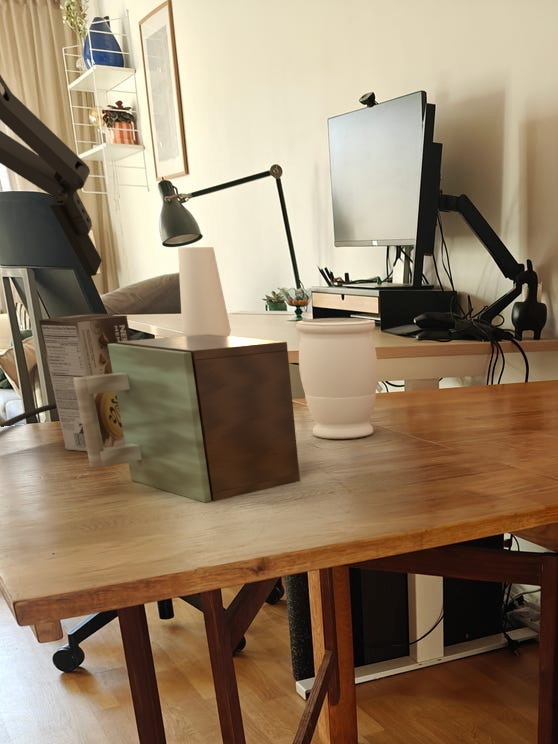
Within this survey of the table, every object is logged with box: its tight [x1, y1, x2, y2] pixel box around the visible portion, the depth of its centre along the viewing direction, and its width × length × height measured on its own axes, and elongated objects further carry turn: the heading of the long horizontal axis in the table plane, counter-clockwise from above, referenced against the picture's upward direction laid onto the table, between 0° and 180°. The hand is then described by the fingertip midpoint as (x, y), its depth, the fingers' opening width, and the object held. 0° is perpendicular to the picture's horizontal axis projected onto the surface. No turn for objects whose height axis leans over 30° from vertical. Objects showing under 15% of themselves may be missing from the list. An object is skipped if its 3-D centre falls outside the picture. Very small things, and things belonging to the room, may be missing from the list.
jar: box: [295, 317, 379, 440], centre depth 118 cm, size 11×10×15 cm
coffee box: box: [38, 313, 132, 452], centre depth 112 cm, size 9×6×16 cm
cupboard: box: [117, 334, 301, 502], centre depth 93 cm, size 11×15×15 cm
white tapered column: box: [177, 246, 232, 336], centre depth 125 cm, size 7×7×24 cm
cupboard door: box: [73, 344, 212, 503], centre depth 87 cm, size 6×15×14 cm, turn 49°
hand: (25, 282), depth 80 cm, fingers open, 13 cm apart
